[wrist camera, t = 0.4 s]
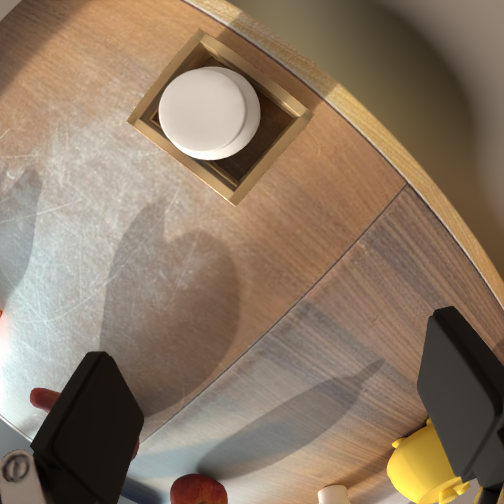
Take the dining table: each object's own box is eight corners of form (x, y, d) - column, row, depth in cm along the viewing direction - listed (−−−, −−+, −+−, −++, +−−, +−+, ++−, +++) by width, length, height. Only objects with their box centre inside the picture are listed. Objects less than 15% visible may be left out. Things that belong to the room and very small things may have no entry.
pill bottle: (176, 108, 25) (124, 98, 15) (236, 70, 24) (219, 33, 14) (213, 165, 27) (183, 188, 17) (274, 128, 26) (282, 127, 16)
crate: (147, 122, 26) (125, 121, 21) (210, 44, 23) (199, 28, 19) (240, 193, 28) (235, 207, 24) (306, 118, 26) (315, 115, 21)
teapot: (481, 428, 42) (507, 480, 29) (416, 472, 46) (432, 525, 33) (446, 392, 37) (482, 462, 24) (364, 448, 42) (380, 520, 29)
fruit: (178, 458, 44) (167, 508, 34) (237, 471, 44) (233, 521, 35) (171, 482, 47) (161, 524, 38) (222, 493, 48) (218, 536, 39)
